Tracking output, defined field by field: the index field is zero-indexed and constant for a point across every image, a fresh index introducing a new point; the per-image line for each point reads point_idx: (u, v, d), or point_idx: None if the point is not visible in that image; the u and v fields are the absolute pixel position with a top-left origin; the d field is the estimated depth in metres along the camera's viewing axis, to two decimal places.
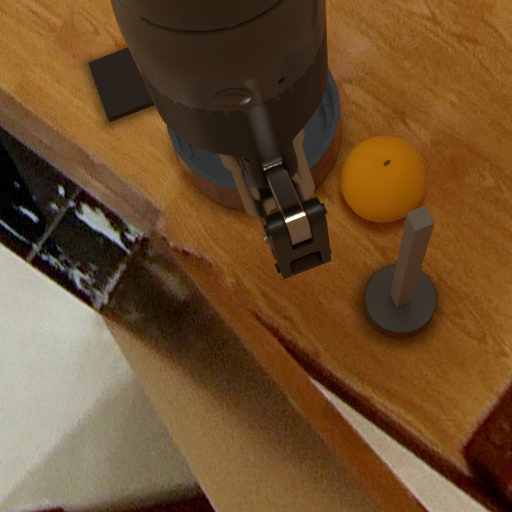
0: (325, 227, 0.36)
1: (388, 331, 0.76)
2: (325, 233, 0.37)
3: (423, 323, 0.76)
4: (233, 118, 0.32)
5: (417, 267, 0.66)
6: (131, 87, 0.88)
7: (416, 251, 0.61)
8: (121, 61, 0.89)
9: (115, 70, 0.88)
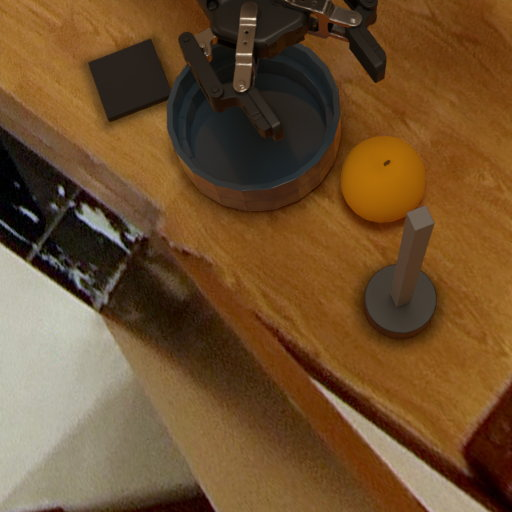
0: (182, 49, 0.63)
1: (388, 331, 0.76)
2: (186, 56, 0.62)
3: (423, 323, 0.76)
4: None
5: (417, 267, 0.66)
6: (131, 87, 0.88)
7: (416, 251, 0.61)
8: (121, 61, 0.89)
9: (115, 70, 0.88)
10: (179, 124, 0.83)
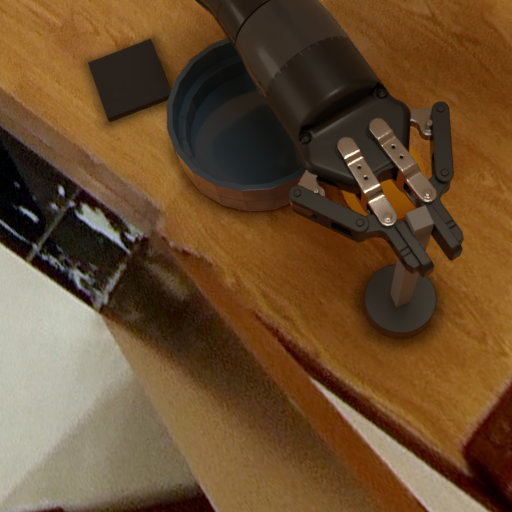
0: (300, 204, 0.58)
1: (388, 331, 0.76)
2: (309, 208, 0.58)
3: (423, 323, 0.76)
4: None
5: None
6: (131, 87, 0.88)
7: None
8: (121, 61, 0.89)
9: (115, 70, 0.88)
10: (179, 124, 0.83)
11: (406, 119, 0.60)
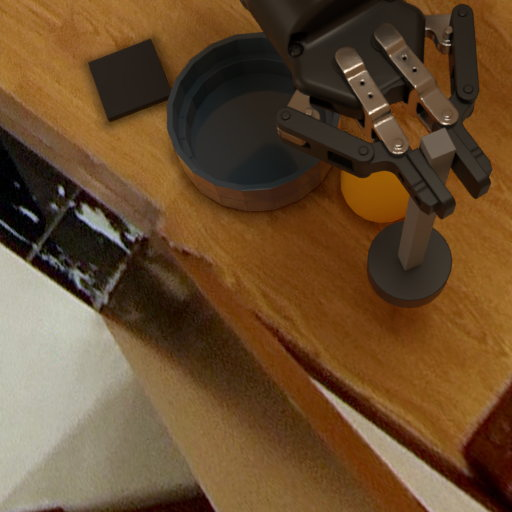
0: (289, 129, 0.47)
1: (396, 299, 0.65)
2: (300, 134, 0.47)
3: (437, 288, 0.65)
4: None
5: (431, 215, 0.54)
6: (131, 87, 0.88)
7: None
8: (121, 61, 0.89)
9: (115, 70, 0.88)
10: (179, 124, 0.83)
11: (420, 27, 0.48)
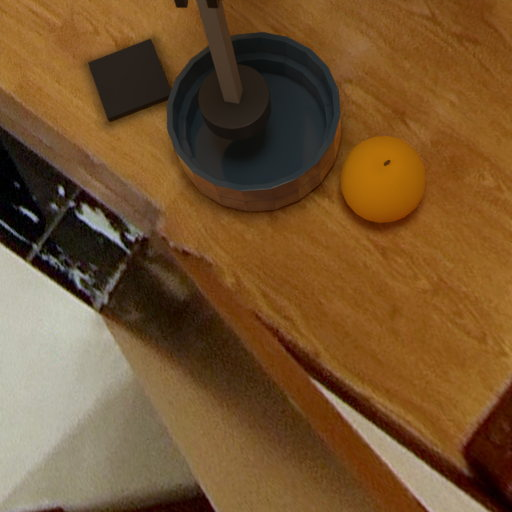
0: None
1: (205, 117, 0.77)
2: None
3: (236, 126, 0.76)
4: None
5: (217, 34, 0.65)
6: (131, 87, 0.88)
7: None
8: (121, 61, 0.89)
9: (115, 70, 0.88)
10: (179, 124, 0.83)
11: None
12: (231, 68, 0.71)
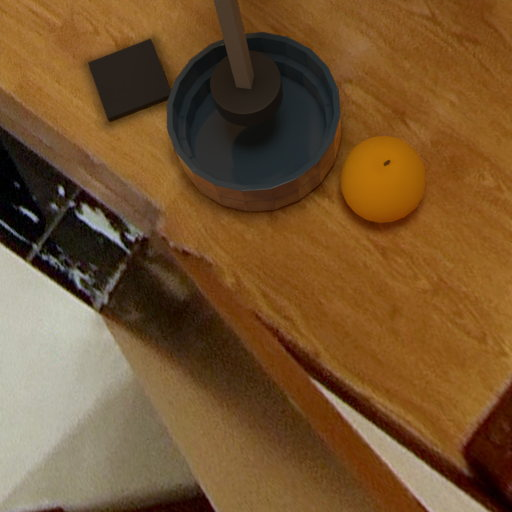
0: None
1: (217, 104, 0.77)
2: None
3: (249, 111, 0.76)
4: None
5: (229, 16, 0.66)
6: (131, 87, 0.88)
7: None
8: (121, 61, 0.89)
9: (115, 70, 0.88)
10: (179, 124, 0.83)
11: None
12: (243, 52, 0.71)
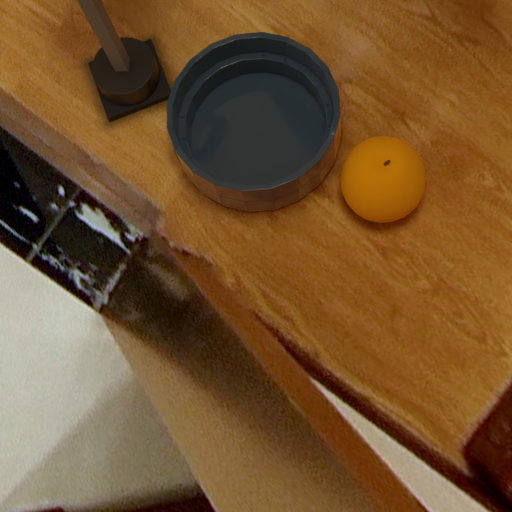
0: None
1: (100, 88, 0.85)
2: None
3: (128, 91, 0.85)
4: None
5: (91, 7, 0.74)
6: None
7: None
8: None
9: None
10: (179, 124, 0.83)
11: None
12: (112, 38, 0.79)
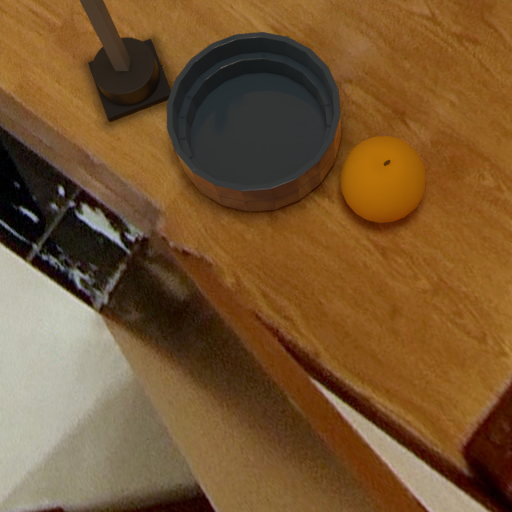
0: None
1: (100, 87, 0.85)
2: None
3: (129, 91, 0.85)
4: None
5: (92, 5, 0.74)
6: None
7: None
8: None
9: None
10: (179, 124, 0.83)
11: None
12: (113, 37, 0.80)
